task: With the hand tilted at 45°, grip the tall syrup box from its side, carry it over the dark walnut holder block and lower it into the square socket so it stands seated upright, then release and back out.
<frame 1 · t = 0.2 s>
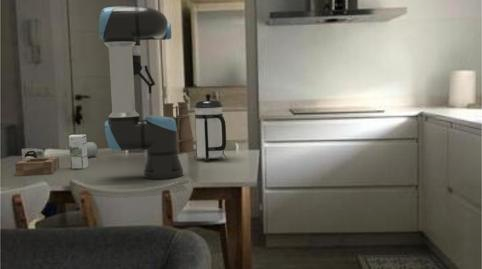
hand: (133, 100, 254), 27 cm above the table, tool pointing down, fingers open, 13 cm apart
grey cylinder: (85, 157, 265), on the table
holder block: (38, 171, 227), on the table
mug: (33, 163, 253), on the table
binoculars: (177, 152, 272), on the table
syrup box: (79, 168, 234), on the table
coffee press: (212, 160, 245), on the table
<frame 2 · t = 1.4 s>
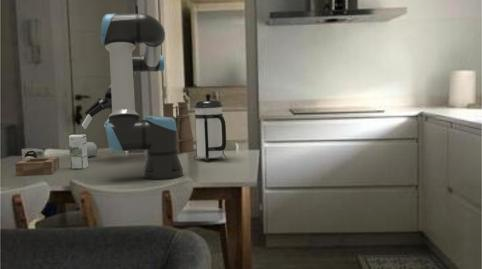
hand: (94, 127, 241), 17 cm above the table, tool tilted 45°, fingers open, 13 cm apart
nothing on the table moved.
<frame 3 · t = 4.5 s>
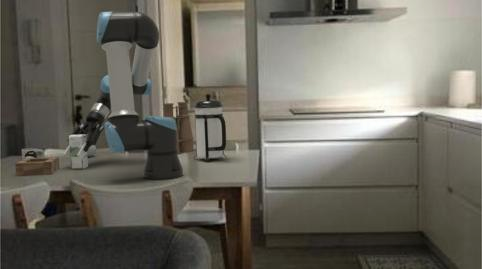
hand: (72, 156, 230), 6 cm above the table, tool tilted 45°, fingers closed on syrup box, 7 cm apart
syrup box: (79, 168, 234), on the table, touching gripper
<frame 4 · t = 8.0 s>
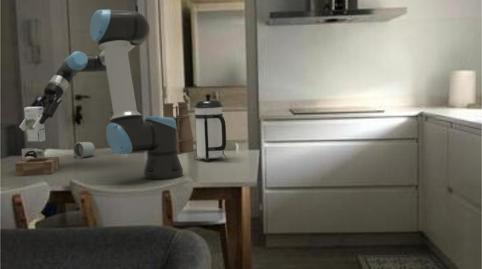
hand: (28, 129, 222), 18 cm above the table, tool tilted 45°, fingers closed on syrup box, 7 cm apart
syrup box: (36, 141, 226), point 13 cm above the table, touching gripper
when the fingers open (7 cm above the table, at t = 11.5 s): syrup box drops 1 cm, resting in holder block.
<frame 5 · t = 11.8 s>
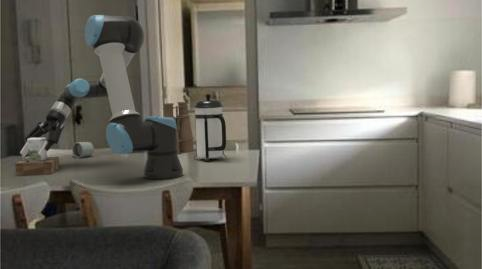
hand: (31, 155, 224), 8 cm above the table, tool tilted 45°, fingers open, 10 cm apart
syrup box: (38, 172, 227), resting in holder block
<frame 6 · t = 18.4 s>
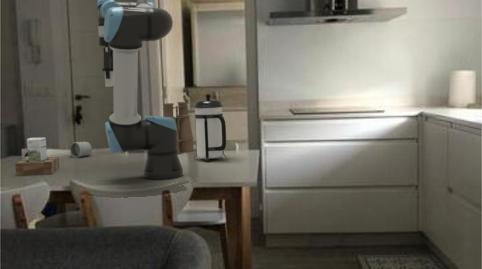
hand: (110, 86, 233), 35 cm above the table, tool pointing down, fingers open, 13 cm apart
grey cylinder: (79, 157, 268), on the table
everything else where it was.
at the end: syrup box 0.2 cm off-centre on the holder block, point 0.0 cm above the holder block's base; syrup box tilted 0°; the gripper is holding nothing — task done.
